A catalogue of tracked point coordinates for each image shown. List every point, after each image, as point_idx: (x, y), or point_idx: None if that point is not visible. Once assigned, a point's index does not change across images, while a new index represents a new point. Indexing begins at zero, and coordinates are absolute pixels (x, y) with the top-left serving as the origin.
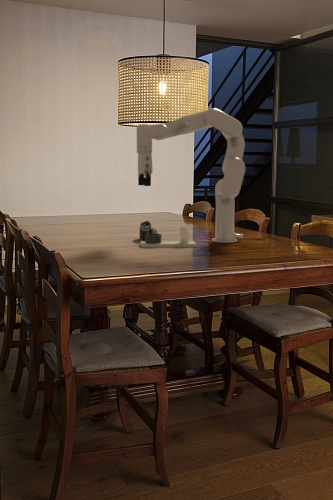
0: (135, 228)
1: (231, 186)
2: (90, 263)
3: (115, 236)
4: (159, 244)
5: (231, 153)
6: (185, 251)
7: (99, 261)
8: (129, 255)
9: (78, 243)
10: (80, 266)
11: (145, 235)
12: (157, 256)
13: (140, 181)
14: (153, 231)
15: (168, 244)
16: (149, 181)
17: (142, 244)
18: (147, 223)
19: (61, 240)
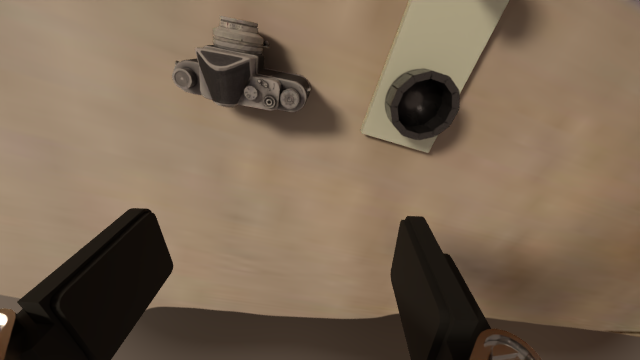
0: None
1: None
2: (572, 301)
3: (139, 150)
4: (460, 91)
5: None
6: (608, 28)
7: (564, 285)
8: (540, 218)
9: (283, 268)
10: (587, 317)
11: (416, 139)
12: (614, 160)
13: (141, 292)
14: (257, 43)
15: (479, 55)
16: (460, 281)
17: (430, 148)
18: (239, 76)
19: (220, 286)
